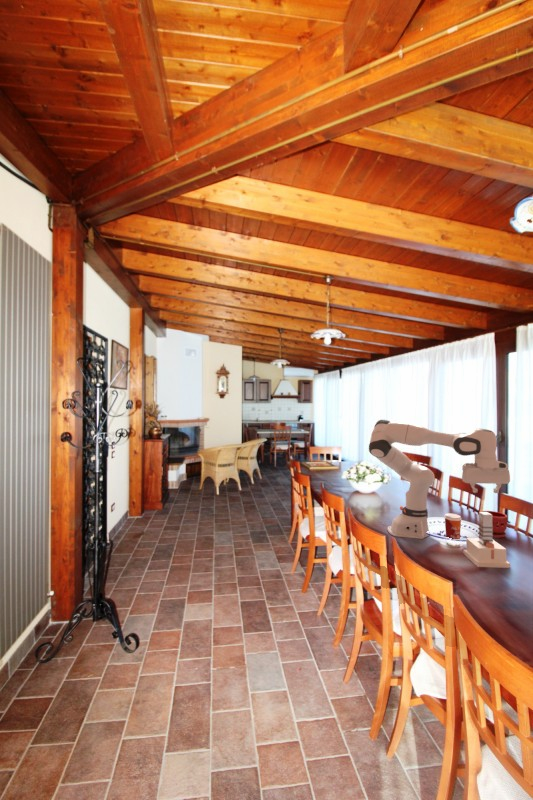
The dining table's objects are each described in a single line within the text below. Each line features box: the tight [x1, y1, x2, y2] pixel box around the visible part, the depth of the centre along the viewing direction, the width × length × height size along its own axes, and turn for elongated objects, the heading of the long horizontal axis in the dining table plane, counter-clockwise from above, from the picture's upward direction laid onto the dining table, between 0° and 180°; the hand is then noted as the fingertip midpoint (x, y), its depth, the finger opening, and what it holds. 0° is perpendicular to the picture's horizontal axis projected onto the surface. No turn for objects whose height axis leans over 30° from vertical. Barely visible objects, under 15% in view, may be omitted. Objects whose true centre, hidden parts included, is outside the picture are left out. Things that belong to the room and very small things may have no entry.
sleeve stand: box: [462, 537, 511, 569], centre depth 171 cm, size 14×14×10 cm
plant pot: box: [480, 510, 509, 539], centre depth 203 cm, size 13×13×12 cm
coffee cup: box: [443, 513, 462, 540], centre depth 191 cm, size 8×8×15 cm
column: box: [477, 511, 494, 546], centre depth 171 cm, size 4×4×22 cm
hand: (485, 492), depth 171 cm, fingers open, 8 cm apart
